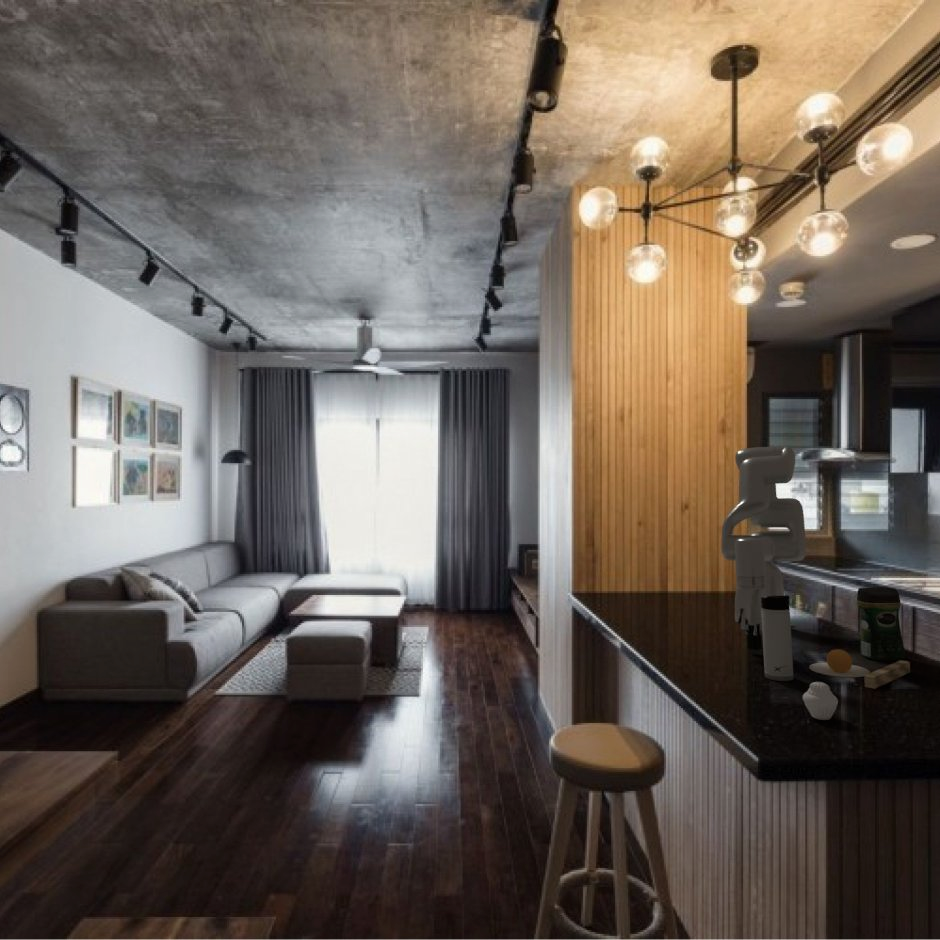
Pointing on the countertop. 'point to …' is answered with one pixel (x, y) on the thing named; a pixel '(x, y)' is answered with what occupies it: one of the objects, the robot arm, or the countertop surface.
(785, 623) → the travel mug
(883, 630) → the coffee jar
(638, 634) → the countertop surface
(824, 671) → the disc
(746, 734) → the countertop surface
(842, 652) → the ball
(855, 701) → the countertop surface
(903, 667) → the stopper strip
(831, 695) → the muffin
